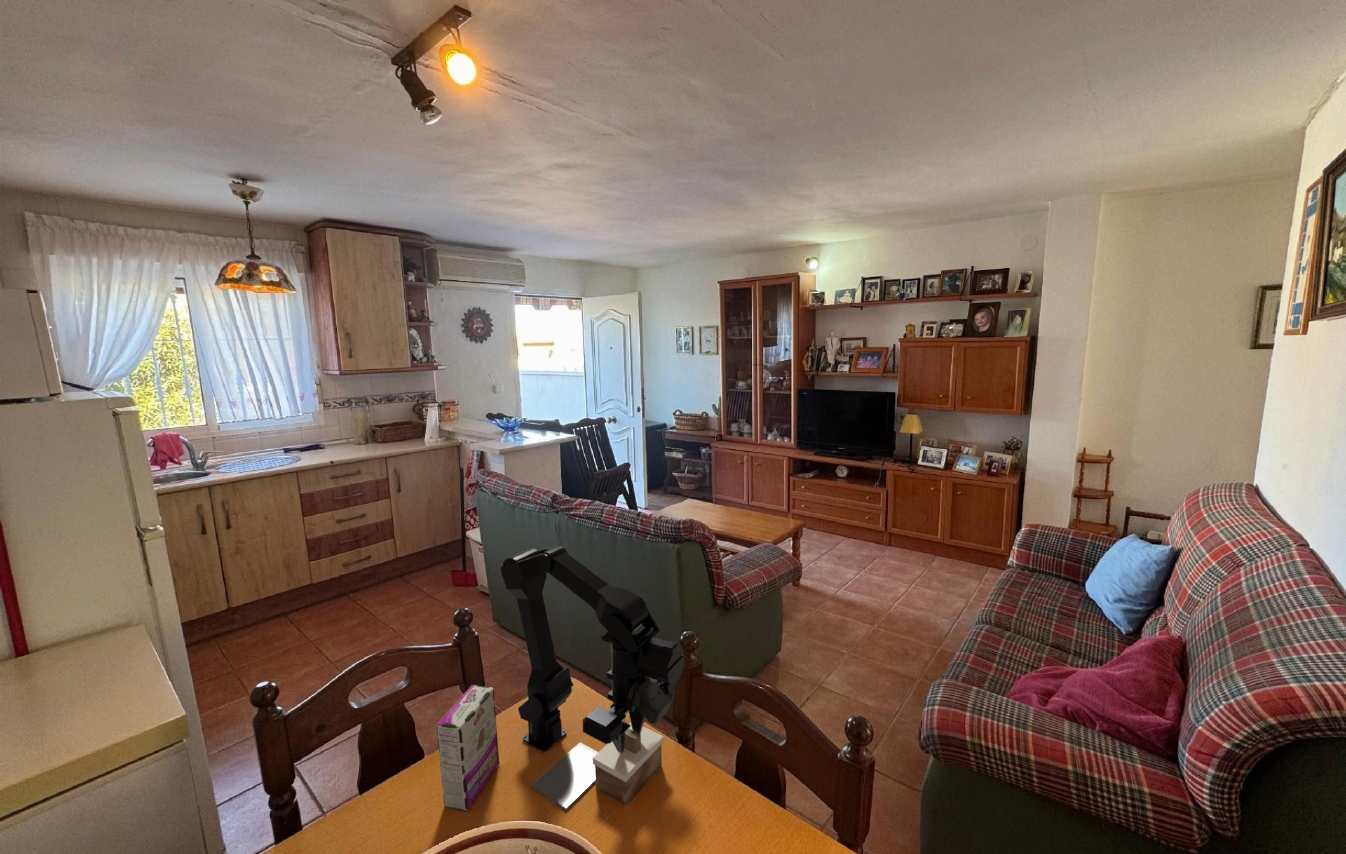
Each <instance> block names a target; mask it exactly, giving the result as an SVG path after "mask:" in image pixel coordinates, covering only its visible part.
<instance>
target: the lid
mask: <svg viewBox="0 0 1346 854" xmlns="http://www.w3.org/2000/svg"><path fill="white" fill-rule="evenodd" d="M628 724H629V725H631V722H629V723H628ZM664 738H665V737H664V735H662V734H659V733H657V732H655V731H653V730H652V729H649V728H647V727H645V726H643V727H642V730H641V734H639V733H637V732H635V731H633V729H632V725H631V727H629V728H628V729H627V730H626V731H625V743H624V751H623V753H620V752H618V751H617V749H616V747H615V746H614V744H613V742H611V743H609V744H605V746H604V747H603V748H601V749H600V750H599V751H597V752H598V753H597V754H596V755H595V756H594V757H593V764H594V765H596V766H597V767H599V768H601V769H603V770H605V771H606V772H608V773H610V774H612V775H614V776H615V777H617V778H619V779H621V780H622V781H624V782H626V781H627V780H628V779H629V778H630V777H631V776H632V775H633V774H634V773H635V772H636V771H637V770H638V769H639V768H640V766H641V765H642V764H643V763H644V762H645V761H646V760H647V759H648V758H649V757H650V756H651V755H652V754H653V753H654V752H655V750H656V749H657V748H658V747H659V746H660V745H661V746H662V744H663V743H664V740H665V739H664Z"/></svg>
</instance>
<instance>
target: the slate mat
mask: <svg viewBox="0 0 1346 854" xmlns="http://www.w3.org/2000/svg"><path fill="white" fill-rule="evenodd" d="M598 752H599V751H597V750H596V749H594V748H591V747H589V746H588V745H586V744H584V743H582V742H579V743H578V744H576V745H575V746H574V747H573V748H571V750H569V752H567V753H566V754H565V755H563V757H561V758H560V759H559V760H558V761H557V762H556V763H554V764H553V765H552V766H551V767H550V768H549V769H548V770H547V771H545V772H543V774H542V775H541V776H540V777H538V779H536V780H535V781H534V782H533V783H531V785H530V788H531V789H532V790H534V791H535V792H537V793H538V794H540V795H541V796H542V797H544V798H546V799H547V800H549V801H550V802H552V803H553V804H554V805H557V806H558V807H560V808H561V809H562V810H564V811H566V812H567V811H568V810H569V809H570V808H571V807H572V806H573V805H574V804H575V803H577V801H578V800H579V799H581V797H582V796H583V795H584V794H585V793H586V792H587V791H588V790H589V789H590V788H591V787H593V785H594V784H596V777H595V765H594V764H593V757H594V756H595V755H596V754H597V753H598Z"/></svg>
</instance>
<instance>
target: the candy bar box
mask: <svg viewBox="0 0 1346 854" xmlns="http://www.w3.org/2000/svg"><path fill="white" fill-rule="evenodd" d="M495 699H496V698H495V688H494V687H490V686H482V685H478V684H472V685H470V686H469V688H468V689H466V691H465V692H464V693H463V694H462V696H461V697H460V698H458V700H457V701H456V702H455V703H454V704H453V706H452V707H450V708H449V710H448V711H446V713H445V714H444V715H443V716H442V717H441V718H440V720H439V721H438V722H437V723H436V732H437V743H438V753H439V760H440V761H439V762H440V763H439V764H440V773H441V785H442V797H443V805H444V807H446V808H449V809H456V810H461V811H466V812H468V811H469V810H470V808H471V807H472V805H473V804H474V802H475V801H476V799H477V798H478V797H479V795H480V793H481V791H482V790H483V788H484V787H486V784H487V783H488V781H489V780H490V779H491V777H492V775H493V774H494V772H495V771H496V769H497V768H499V767H498V766H499V765H500V756H499V742H498V741H499V740H498V729H497V728H498V727H497V714H496V703H495V702H496V701H495Z"/></svg>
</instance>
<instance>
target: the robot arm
mask: <svg viewBox="0 0 1346 854" xmlns="http://www.w3.org/2000/svg"><path fill="white" fill-rule="evenodd" d="M500 573H501V577H502V579H503V580H502V581H503V583H504V585H505V589H506V591H507V592H509V593H510V594H511V595H512V596H513V597H514V598H515V599H516V601H517V604H518V605H517V606H518V609H519V614H520V619H521V625H522V629H523V634H524V638H525V643H526V648H527V651H528V652H527V653H528V657H529V658H528V659H529V662H530V666H531V671H530V674H529V678H528V681H527V685H526V686H527V698H528V699H527V700H526V701H525V702H524V703H522V704H521V705H520V706H519V707H518V708H517V710H518V714H519V716H520V719H522V720H524V721H526V722H527V726H528V733H526V734H525V735H524V736H523V737H522V741H523V742H525V743H527V744H528V745H530V746H532V747H534V748H535V749H537V750H539V751H540V752H542V753H546V752H548V750H549V749H550V748H551V747H553V746H554V745H556V744H557V743H558V742H559V741H560V740H561V739H563V738H564V737H565V736H566V735H567V730H565V729H564V728H562V726H563V725H562V719H561V710H560V709H559V708H560V707H561V706H562V705H563V704H564V703H565V704H566V702H567V699H568V698H569V697H570V696H571V694H572V692H573V689H572V688H573V686H574V683H573V681H572V677H571V670H570V668H568V666H567V667H564V666H563V665H562V664H560V663H559V661H558V660H557V657H556V651H555V647H554V642H553V638H552V632H551V629H550V622H549V618H548V614H547V610H546V609H547V608H546V604H545V600H544V594H543V591H544V587H545V583H546V579H547V573H548V574H549V575H550V576H552V577H553V578H554V579H556V580H557V581H558V582H559V583H561V584H562V585H563V586H564V587H565V588H567V589H568V590H570V591H571V592H572V593H573V594H574V595H576V597H578V598H579V599H581V600H583V602H585V603H586V604H587V605H588V606H589V607H591V608H592V610H594V612H595V615H596V618H597V620H598V622H599V624H601V626H602V627H603V628H604V629H605V630H606V631H607V632H605V633H604V634H603V635H602V636H601V637H600V640H601V641H603V642H606V643H609V644H610V647H611V649H610V650H611V651H610V652H611V669H610V670H609V671H607V672H606V678H607V679H609V680H611V690H610V691H608V692H607V700H610V701H612V702H613V703H611V705H609V706H610V707H609V708H610V709H609V710H608V709H606V708H604V707H602V706H600V705H598V707H596V708H595V709H594V710H592V711H591V712H590V713H589V714H587V715H586V716H585V717H584V718H583V719H582V733H583V734H585V735H587V736H590V737H592V738H593V739H594V740H597V741H599V742H601V743H602V744H604V745H607V744H609V743H611V742H613V744H614V746H615V747H616V749H617V751H618V752H620V753H623V751H624V743H625V731H626V730H627V729H628V728H629V727H631V725H632V729H633V731H635V732H637V733H639V734H641V730H642V727H644V723H645V721H646V719H647V722H648V723H650V724H652V725H657V723H659V721H660V720H661V719H662V718H663V717H664V716H665V715H666V714H668V711H669V708H670V706H671V704H672V703H673V702H674V701H675V700H676V699H675V698H676V697H675V684H677V683H678V681H679V680H680V677H682V673H683V670H684V669H683V668H684V665H685V656H684V655H683V651H682V650H681V649H679V644H678V643H677V642H674V641H672V640H671V641H668V640H664V639H661V638H658V637H656V636H657V635H658V634H659V633H660V632H661V631H660V628H659V626H658V624H657V623H656V620H655V619H654V618H653V616H652V614H651V612H650V611H649V609H648V607H647V603H646V602H645V600H644V599H643V598H642V597H641V596H639V595H637V594H635V593H634V592H632V591H629V590H627V589H625V588H620V587H614V586H612V585H610V584H609V583H607V582H606V581H605V580H603V579H602V578H600V577H599V576H598V575H597V574H595V573H594V572H593V571H591V570H590V569H588V568H587V567H586V566H585V565H584V564H582V563H581V562H579V561H578V560H577V559H575V558H574V557H573V556H571V555H570V554H569V552H568V551H567V549H566V548H565V547H563V546H554V547H548V548H543V549H541V550H537V549H536V548H532V547H531V548H527V549H525V550H523V551H521V552H518V553H516V554H514V555H512V556H509V557H507V558H505V559H504V560H503V563H502V564H501V565H500ZM641 626H643V627H644V628H643V629H642V630H641V631H639V632H638V633H635V631H636V630H637V629H639V628H640V627H641ZM627 714H629V718H630V723H631V725H629V724H630V723H627V722H626V718H627Z"/></svg>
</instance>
